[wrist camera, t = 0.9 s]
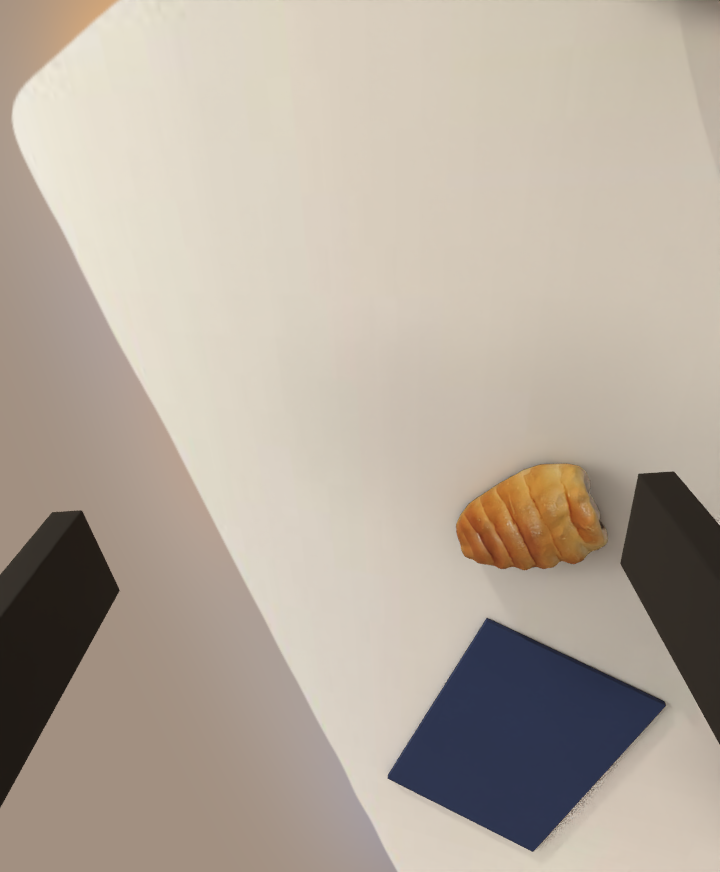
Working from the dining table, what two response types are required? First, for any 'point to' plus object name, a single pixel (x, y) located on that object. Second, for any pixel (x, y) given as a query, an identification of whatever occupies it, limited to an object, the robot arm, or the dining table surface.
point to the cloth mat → (520, 735)
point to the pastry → (533, 520)
